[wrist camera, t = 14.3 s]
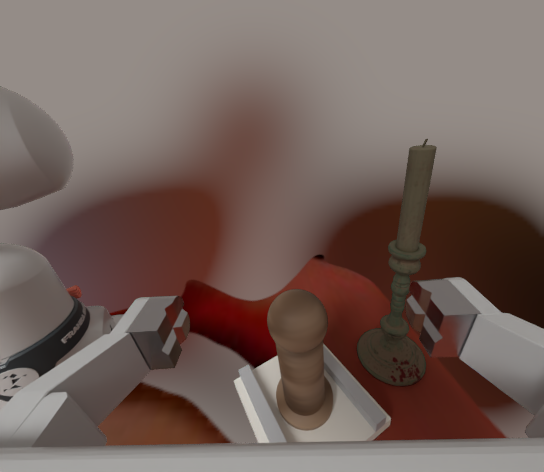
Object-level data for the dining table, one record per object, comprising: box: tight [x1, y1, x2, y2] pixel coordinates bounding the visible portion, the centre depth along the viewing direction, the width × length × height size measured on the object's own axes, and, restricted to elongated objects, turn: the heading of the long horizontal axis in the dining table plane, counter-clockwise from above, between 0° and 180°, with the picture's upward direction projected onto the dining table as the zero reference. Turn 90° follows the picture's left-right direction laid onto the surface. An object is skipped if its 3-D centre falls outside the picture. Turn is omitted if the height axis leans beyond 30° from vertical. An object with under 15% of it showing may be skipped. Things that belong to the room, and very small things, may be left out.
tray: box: [234, 344, 391, 443], centre depth 30 cm, size 14×14×3 cm
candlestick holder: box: [357, 139, 436, 386], centre depth 29 cm, size 9×9×30 cm
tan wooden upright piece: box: [267, 289, 333, 431], centre depth 26 cm, size 7×7×16 cm
